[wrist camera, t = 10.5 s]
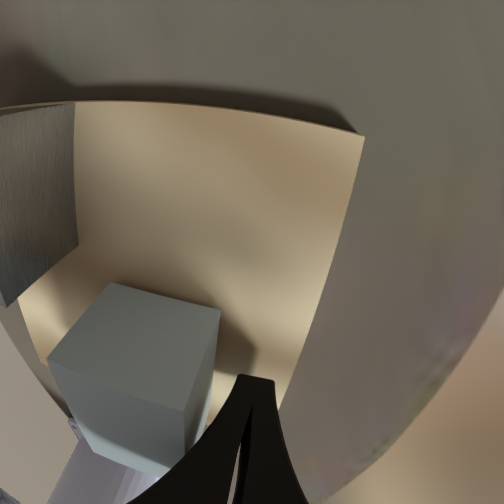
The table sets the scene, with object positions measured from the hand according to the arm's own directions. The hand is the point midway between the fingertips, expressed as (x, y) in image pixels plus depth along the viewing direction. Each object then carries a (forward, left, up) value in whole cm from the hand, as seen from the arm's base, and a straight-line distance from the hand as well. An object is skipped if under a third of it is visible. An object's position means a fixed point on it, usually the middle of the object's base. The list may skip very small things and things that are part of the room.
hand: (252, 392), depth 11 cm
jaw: (+7, +10, -1) cm, 12 cm away
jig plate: (+2, +5, -2) cm, 6 cm away
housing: (0, +4, -1) cm, 4 cm away
